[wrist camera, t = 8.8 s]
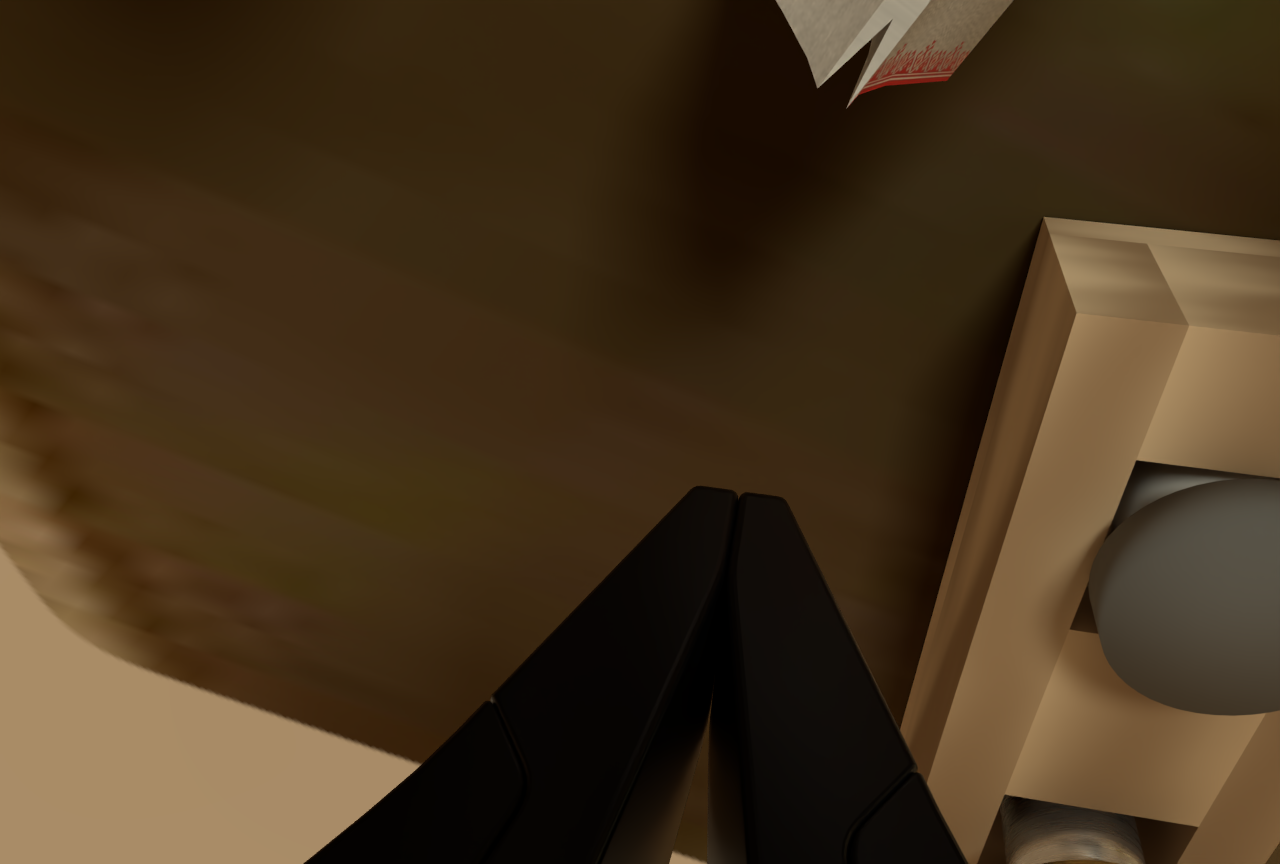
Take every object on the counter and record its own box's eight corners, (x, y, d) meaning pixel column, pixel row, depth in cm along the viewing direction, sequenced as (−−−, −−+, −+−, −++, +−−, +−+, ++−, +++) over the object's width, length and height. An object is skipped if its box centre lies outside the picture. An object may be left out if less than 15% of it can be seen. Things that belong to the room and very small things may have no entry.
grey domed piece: (1356, 403, 20) (1455, 544, 17) (1261, 581, 23) (1330, 733, 20) (1101, 373, 21) (1147, 503, 17) (1039, 550, 24) (1068, 693, 20)
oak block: (1479, 260, 20) (1600, 371, 16) (1143, 861, 31) (1175, 994, 28) (1043, 217, 21) (1076, 313, 17) (876, 815, 32) (877, 938, 29)
